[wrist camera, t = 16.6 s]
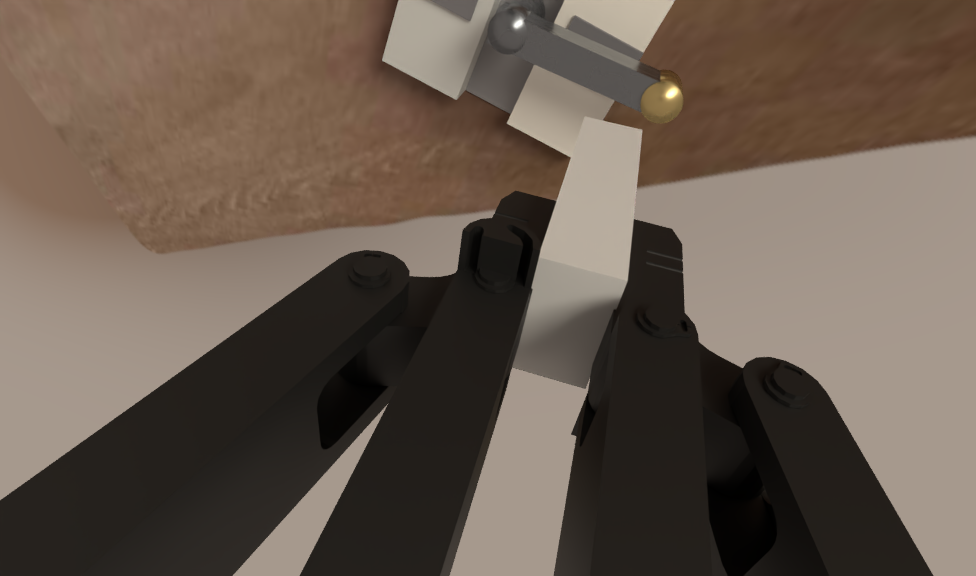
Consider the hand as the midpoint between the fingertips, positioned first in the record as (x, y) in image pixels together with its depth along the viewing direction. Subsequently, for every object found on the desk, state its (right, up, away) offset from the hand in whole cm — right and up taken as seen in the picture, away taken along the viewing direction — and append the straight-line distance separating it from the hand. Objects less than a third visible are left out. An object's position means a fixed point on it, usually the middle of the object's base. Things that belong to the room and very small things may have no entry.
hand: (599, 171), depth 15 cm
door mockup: (0, +16, +22) cm, 27 cm away
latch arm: (+4, +14, +22) cm, 26 cm away
